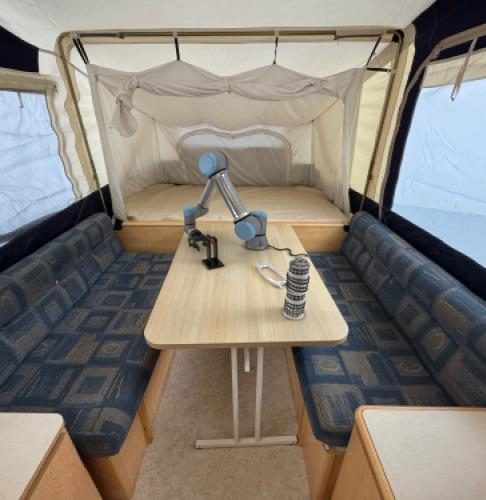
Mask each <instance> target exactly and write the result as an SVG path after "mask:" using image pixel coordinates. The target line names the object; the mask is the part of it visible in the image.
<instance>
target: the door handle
mask: <svg viewBox="0 0 486 500" xmlns="http://www.w3.org/2000/svg"><path fill="white" fill-rule="evenodd" d="M255 265H256V269H257V271H258V272H259V273H260V274H261V276H262V277H263V278H265V279H266V280H267V281H268V282H270V284H273V286H275V287H277V288H280V289H282V288H283V286H282V285H287V284H286V277H287V276H286V274H284V273H283V272H282V271H281V270H280V269H278V268H277V267H276V266H274V265H272V264H270V263H269V262H266V261H262V264H259V263H258V262H256V264H255ZM264 268H266V269H270V270H273V271H274V272H275V273H277V274H278V275H279V276H280V277H281V278H282V280H274V279H272V277H270V276H268V275H267V274H266V273H265V272H264V270H262V269H264Z"/></svg>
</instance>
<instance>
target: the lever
mask: <svg viewBox="0 0 486 500" xmlns="http://www.w3.org/2000/svg"><path fill="white" fill-rule="evenodd" d="M210 240H211V245H212V243H215V240H214V239H210ZM201 244H202V247H205V248H206V241H202V243H201Z"/></svg>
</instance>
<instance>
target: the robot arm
mask: <svg viewBox="0 0 486 500" xmlns="http://www.w3.org/2000/svg"><path fill="white" fill-rule="evenodd" d="M230 166H231V160H230V156H229V155H228V154H227V153H225V152H224V151H213V152H207V153H203V154H202V155H201V157H200V158H199V161H198V168H199V172H200V173H201V174H202V175H204V176H206V177H207V178H208V179H207V182H206V184H205V187H204V189H203V191H202V194H201V196H200V198H199V200H198V202H197V204H196V206H193V205H187V206H184V207H183V214H182V215H183V222H184V223H183V227H182V229H183V231H184V234H186V235H187V236H188V237H187V242H188V247H189V248H192V249H196V251H198V252H200V251H201V250H200V245H198V242H203V241H206V238H207V237H208V238H209V239H213V236H212V235H210V234H209V233H207V234H206V235H205V234H203V232H202V231H201V230H200V229H198V228H197V219H199V218H201V217H203V216H206V215H207V214H209V212H210V206H211V203H212V201H213V199H214V197H215V195H216V193H217V191H218V192H219V194H220V196H221V197H222V199H223V202H224V203H225V205H226V206H227V208H228V210H229V212H230V214H231V215H232V218H233V219H232V220H233V221H232V223H233V225H234V229H233V231H234V234H235V236H236V237H238V239H240V240H242V241H244V247H245V248H246V249H248V250H252V251H263V250H266V249H267V248H268V247H270V248H273V249H275V250H277V251H284V250H285V251H286V250H288V251H289V255H290V256H292V257H297V256H305V257H309V255H308V254H307V253H304V252H303V253H296V254H293V253H292V249H291V248H288V247H285V248H278V247H275V246H272V245H271V244H269V242H268V238H267V227H268V226H267V224H268V214H267V212H266V211H263V210H250V211H247V208H245V205H244V203H243V201H242V200H241V198H240V196H239V194H238V192H237V191H236V189H235V187H234V184H233V183H232V181H231V180H230V178H229V176H228V172H229V169H230ZM211 246H213V243H212V244H211Z"/></svg>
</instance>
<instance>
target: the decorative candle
mask: <svg viewBox="0 0 486 500" xmlns="http://www.w3.org/2000/svg"><path fill="white" fill-rule="evenodd" d="M288 265H289V266H288V270H287V272H286V274H285V277H286V284H285V291H286V293H285V297H284V301H283V303H284V304H283V315H284V316H285V317H286V318H288V319H290V320H296V321H297V320H301V319H303V318H304V315H305V309H306V302H307V300H306V294H307V292H308V291H309V290H308V289H309V284H310V278H311V276H309V275H310V267H311V263H310V262H309V261H308V259H306V258H304V257H301V256H300V257H297V256H296V257H294V258H292V259H291V260H289V261H288Z"/></svg>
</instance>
